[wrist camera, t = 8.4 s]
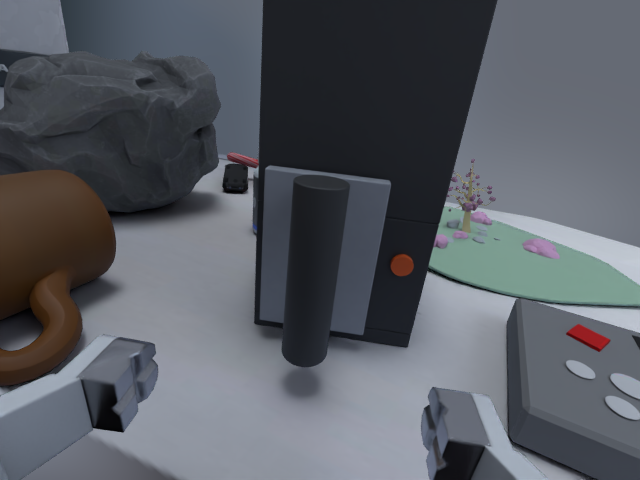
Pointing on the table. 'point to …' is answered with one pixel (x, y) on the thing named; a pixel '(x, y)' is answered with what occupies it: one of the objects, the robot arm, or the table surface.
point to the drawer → (319, 255)
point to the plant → (522, 260)
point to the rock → (112, 124)
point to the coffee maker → (373, 121)
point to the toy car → (235, 178)
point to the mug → (48, 262)
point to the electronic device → (574, 390)
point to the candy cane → (243, 160)
